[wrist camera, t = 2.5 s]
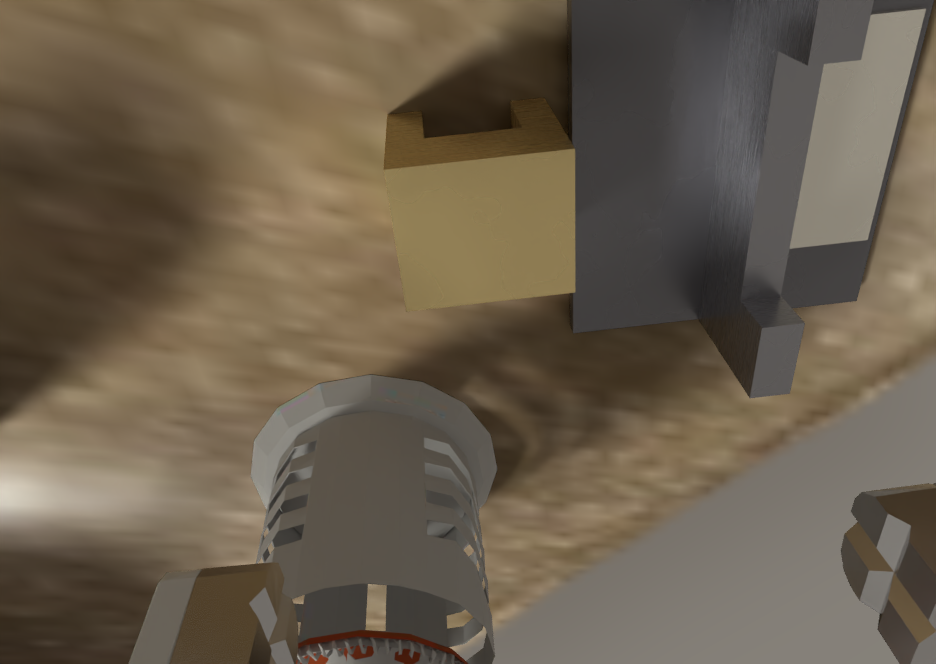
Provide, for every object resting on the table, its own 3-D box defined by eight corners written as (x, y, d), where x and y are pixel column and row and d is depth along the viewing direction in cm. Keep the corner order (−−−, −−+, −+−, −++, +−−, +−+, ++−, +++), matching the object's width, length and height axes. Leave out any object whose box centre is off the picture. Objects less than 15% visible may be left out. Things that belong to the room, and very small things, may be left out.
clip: (387, 114, 21) (383, 169, 17) (543, 97, 21) (575, 148, 17) (406, 238, 23) (406, 311, 19) (547, 222, 23) (575, 292, 19)
